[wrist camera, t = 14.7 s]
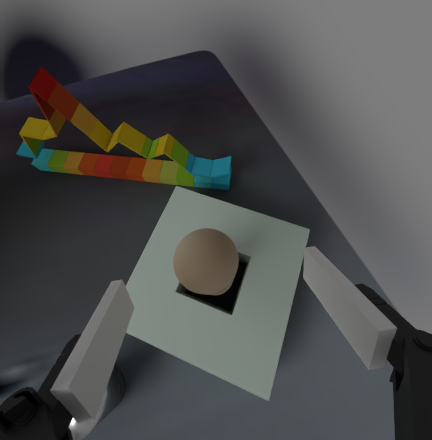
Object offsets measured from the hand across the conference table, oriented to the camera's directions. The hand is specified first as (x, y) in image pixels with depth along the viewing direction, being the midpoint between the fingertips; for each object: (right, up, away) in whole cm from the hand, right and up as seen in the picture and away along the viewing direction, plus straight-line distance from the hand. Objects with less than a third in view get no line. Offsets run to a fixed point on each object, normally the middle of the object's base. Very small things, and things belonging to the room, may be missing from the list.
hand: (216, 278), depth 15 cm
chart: (-13, +12, +17) cm, 25 cm away
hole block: (0, -3, +11) cm, 11 cm away
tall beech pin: (0, -3, +11) cm, 11 cm away
